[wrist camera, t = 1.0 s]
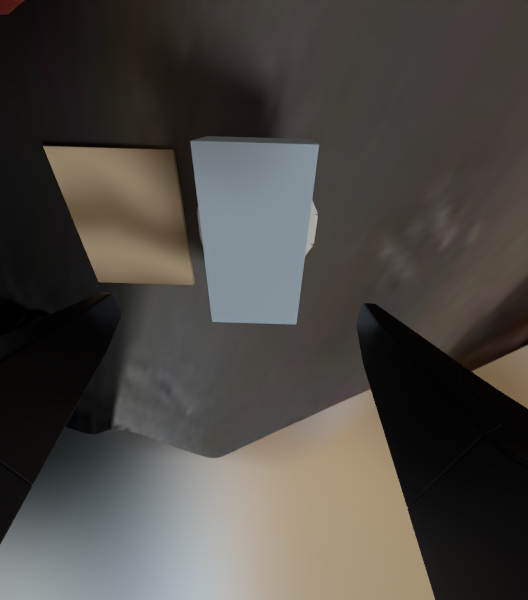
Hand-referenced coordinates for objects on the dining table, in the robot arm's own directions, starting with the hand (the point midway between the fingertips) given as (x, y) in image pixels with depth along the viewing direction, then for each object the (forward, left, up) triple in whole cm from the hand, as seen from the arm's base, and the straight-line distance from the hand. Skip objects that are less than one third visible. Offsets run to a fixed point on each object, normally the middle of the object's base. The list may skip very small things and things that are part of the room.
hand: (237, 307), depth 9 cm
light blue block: (-1, 0, -11) cm, 11 cm away
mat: (-2, +10, -13) cm, 17 cm away
